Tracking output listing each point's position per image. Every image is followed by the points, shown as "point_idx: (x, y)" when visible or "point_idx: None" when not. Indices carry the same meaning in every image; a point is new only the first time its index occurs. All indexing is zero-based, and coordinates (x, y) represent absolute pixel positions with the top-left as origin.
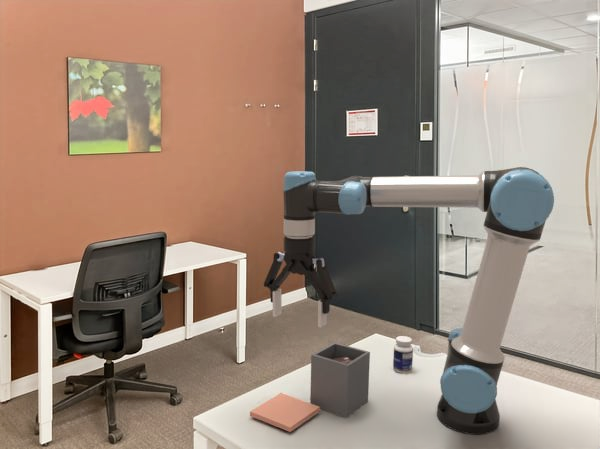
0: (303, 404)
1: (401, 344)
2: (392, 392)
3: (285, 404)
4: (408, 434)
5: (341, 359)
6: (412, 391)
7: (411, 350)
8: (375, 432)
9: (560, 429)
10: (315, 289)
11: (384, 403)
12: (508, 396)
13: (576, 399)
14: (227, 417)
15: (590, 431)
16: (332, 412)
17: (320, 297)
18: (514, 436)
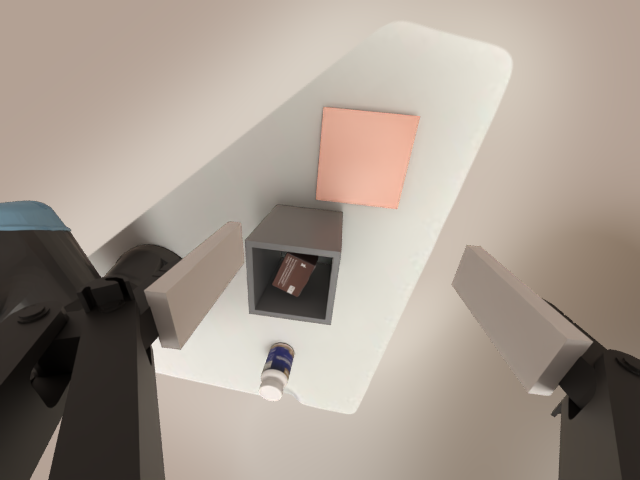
0: (343, 192)
1: (269, 381)
2: None
3: (370, 176)
4: (189, 208)
5: (296, 282)
6: (244, 308)
7: (261, 376)
8: (224, 190)
9: None
10: (130, 370)
11: None
12: (158, 338)
13: None
14: (459, 94)
15: None
16: (301, 207)
17: (131, 312)
18: (105, 263)
